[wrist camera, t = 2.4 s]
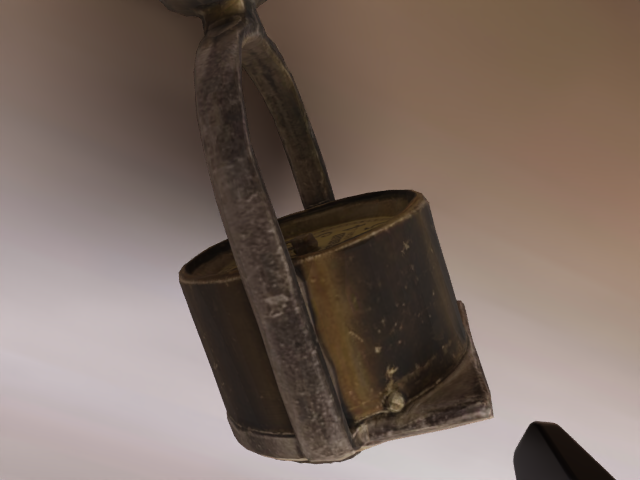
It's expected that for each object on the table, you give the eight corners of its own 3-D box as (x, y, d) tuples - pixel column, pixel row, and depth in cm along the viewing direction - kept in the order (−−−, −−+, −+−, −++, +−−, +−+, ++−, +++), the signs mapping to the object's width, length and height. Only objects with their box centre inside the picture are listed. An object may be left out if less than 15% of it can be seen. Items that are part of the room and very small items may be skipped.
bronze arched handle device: (293, 320, 23) (306, 594, 15) (22, 39, 17) (-226, 240, 8) (461, 223, 21) (588, 475, 13) (228, -134, 15) (174, -100, 6)
